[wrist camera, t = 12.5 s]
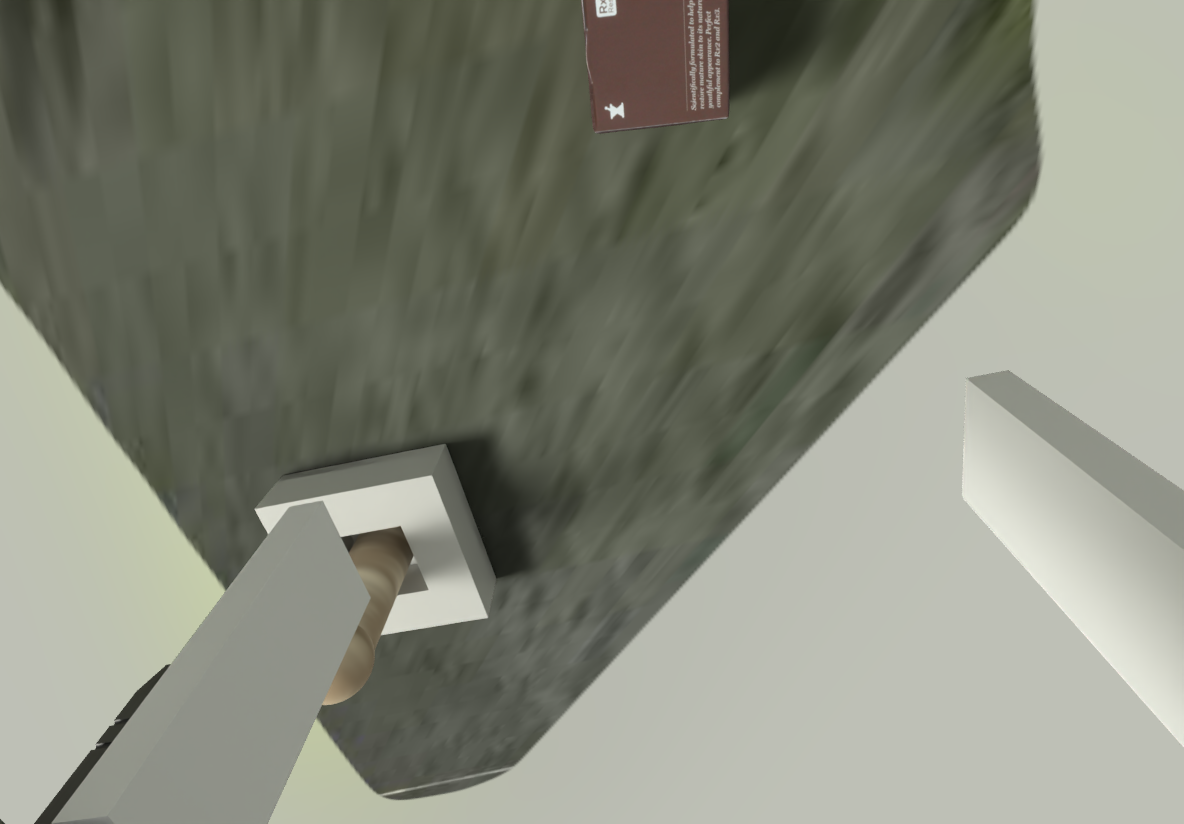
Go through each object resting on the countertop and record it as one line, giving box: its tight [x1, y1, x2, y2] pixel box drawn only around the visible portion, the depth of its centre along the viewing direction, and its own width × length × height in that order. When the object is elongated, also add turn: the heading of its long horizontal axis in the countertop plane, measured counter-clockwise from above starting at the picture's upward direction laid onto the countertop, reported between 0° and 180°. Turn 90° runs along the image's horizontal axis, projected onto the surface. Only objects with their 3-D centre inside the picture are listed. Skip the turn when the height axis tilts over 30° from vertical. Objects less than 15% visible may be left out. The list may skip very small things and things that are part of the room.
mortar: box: [255, 444, 496, 635], centre depth 45 cm, size 12×12×4 cm
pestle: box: [322, 526, 414, 705], centre depth 40 cm, size 5×5×14 cm
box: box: [581, 0, 730, 133], centre depth 30 cm, size 6×6×7 cm
